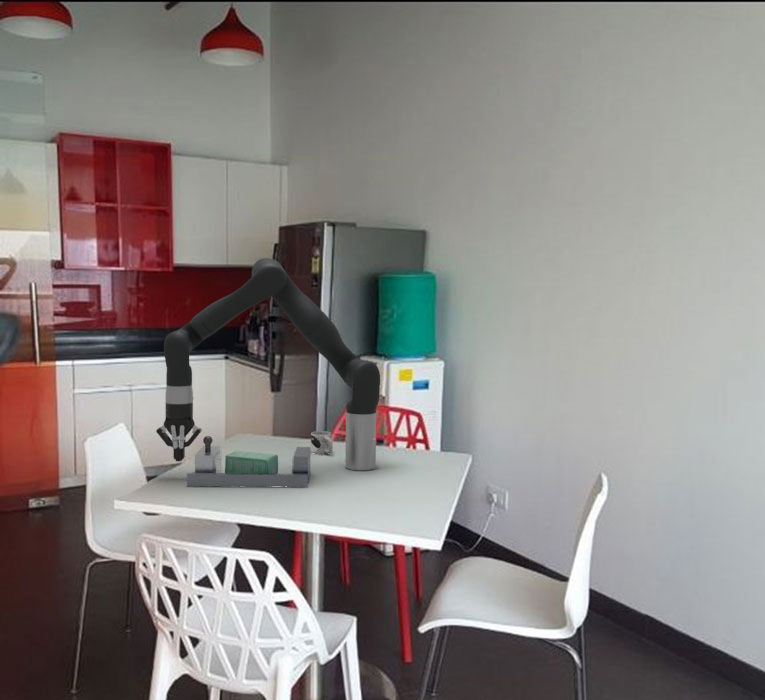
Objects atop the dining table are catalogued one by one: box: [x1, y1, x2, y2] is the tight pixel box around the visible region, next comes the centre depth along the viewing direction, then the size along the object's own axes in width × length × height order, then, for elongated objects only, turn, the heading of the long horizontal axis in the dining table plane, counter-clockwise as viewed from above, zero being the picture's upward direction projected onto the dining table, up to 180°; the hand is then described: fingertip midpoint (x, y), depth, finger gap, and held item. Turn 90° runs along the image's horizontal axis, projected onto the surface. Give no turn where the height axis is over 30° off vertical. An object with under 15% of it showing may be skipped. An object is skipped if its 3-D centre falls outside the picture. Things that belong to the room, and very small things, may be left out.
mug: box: [310, 430, 333, 455], centre depth 242 cm, size 10×7×7 cm
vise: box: [186, 446, 312, 488], centre depth 208 cm, size 33×15×8 cm, turn 93°
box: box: [224, 450, 279, 474], centre depth 208 cm, size 7×14×8 cm, turn 75°
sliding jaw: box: [194, 435, 223, 473], centre depth 209 cm, size 6×12×12 cm, turn 3°
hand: (179, 460), depth 208 cm, fingers closed
